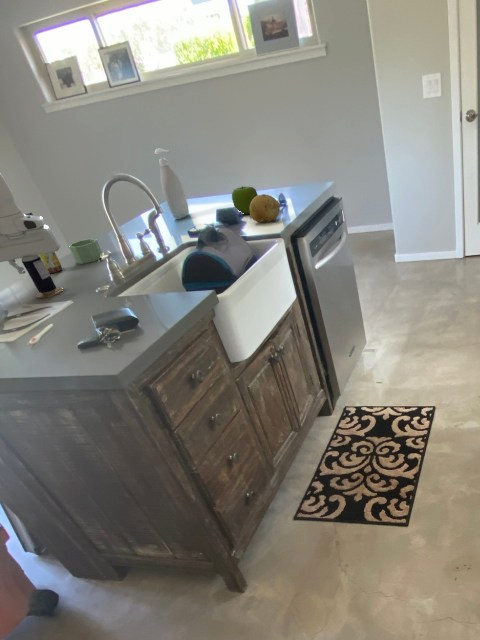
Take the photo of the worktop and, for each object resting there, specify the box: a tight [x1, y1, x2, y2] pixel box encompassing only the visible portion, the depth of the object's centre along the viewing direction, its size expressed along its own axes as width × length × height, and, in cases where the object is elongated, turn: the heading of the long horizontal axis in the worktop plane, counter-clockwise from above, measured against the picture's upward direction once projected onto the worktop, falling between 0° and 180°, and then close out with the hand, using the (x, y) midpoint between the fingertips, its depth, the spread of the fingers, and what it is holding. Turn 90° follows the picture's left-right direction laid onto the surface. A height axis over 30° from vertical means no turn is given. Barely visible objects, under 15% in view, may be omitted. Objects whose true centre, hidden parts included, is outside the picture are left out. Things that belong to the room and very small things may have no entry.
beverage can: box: [21, 255, 57, 295], centre depth 173 cm, size 6×6×12 cm
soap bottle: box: [154, 147, 190, 220], centre depth 234 cm, size 14×8×27 cm, turn 169°
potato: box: [249, 193, 281, 223], centre depth 212 cm, size 10×12×10 cm
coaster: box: [35, 286, 65, 299], centre depth 177 cm, size 9×9×1 cm
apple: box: [231, 185, 259, 216], centre depth 228 cm, size 11×11×11 cm
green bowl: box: [68, 238, 103, 265], centre depth 203 cm, size 10×10×6 cm
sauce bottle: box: [23, 211, 63, 274], centre depth 191 cm, size 6×6×20 cm
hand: (37, 270), depth 172 cm, fingers open, 8 cm apart
